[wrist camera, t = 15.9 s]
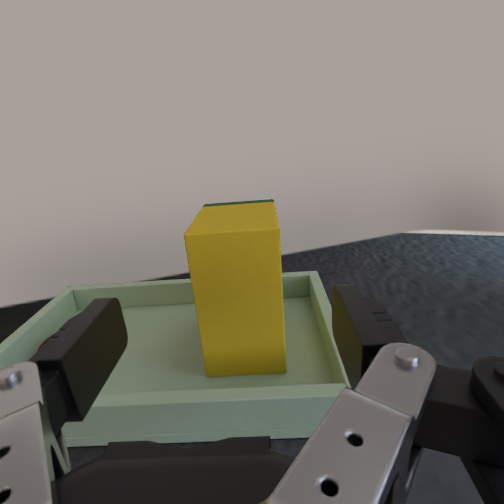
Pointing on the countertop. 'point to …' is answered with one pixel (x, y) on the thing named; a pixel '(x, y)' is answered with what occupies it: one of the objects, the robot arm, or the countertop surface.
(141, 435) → the tray
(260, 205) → the sponge
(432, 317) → the countertop surface
